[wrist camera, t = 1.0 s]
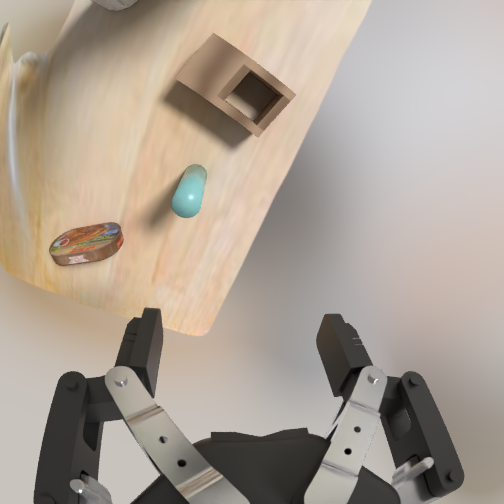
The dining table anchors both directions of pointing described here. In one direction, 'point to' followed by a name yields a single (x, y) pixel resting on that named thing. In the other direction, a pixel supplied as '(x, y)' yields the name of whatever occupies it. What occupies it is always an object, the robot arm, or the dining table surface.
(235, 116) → the socket
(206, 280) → the dining table surface
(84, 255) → the tin
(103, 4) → the water bottle
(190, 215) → the peg
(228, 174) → the dining table surface
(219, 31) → the dining table surface
